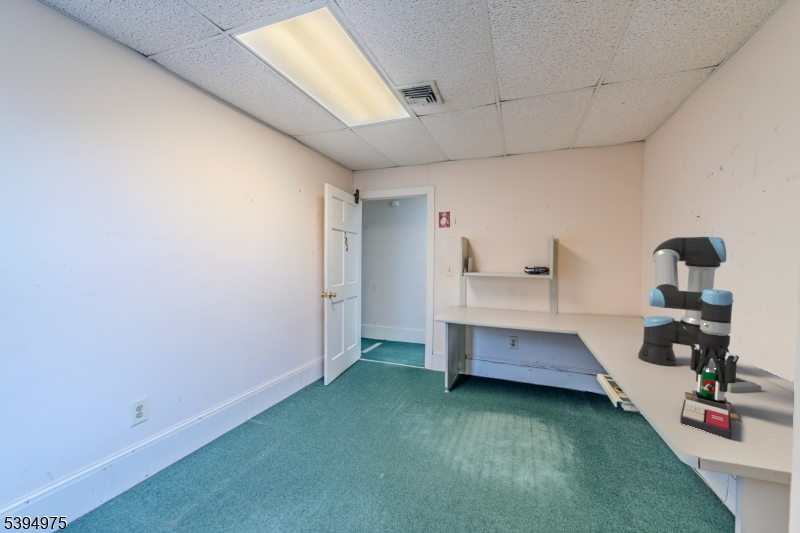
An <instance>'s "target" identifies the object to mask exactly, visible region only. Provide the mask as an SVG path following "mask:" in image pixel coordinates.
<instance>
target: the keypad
mask: <svg viewBox="0 0 800 533" xmlns="http://www.w3.org/2000/svg"><path fill="white" fill-rule="evenodd" d="M752 391H755V392H761V391H762V385H760V384H757V383H756V382H754V381H751V380H747V379H745V378H741V377H739V376H736V382H735V383H728V387H727V392H726V393H729V394H731V393H748V392H749V393H751V392H752Z"/></svg>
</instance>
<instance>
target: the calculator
mask: <svg viewBox="0 0 800 533" xmlns="http://www.w3.org/2000/svg"><path fill="white" fill-rule="evenodd" d="M679 418H680V420H679V421H680V422H679V424H680V423H682V424H681V425H683V424H685V425H684V426H686V425H689V426H692V427H695V428H698V429H701V430H704V431H706V432H705V433H707V432H709V434H711V433H712V434H711V435H714V434H715V436H717V435H718V436H717V437H720V436H721V438H723V439H726V440H731V439H732V422H731V421H732V420H731V417H730V412H729V411H727V410H724V409H720V408H717V407H713V406H709V405H706V404H702V403H698V402H695V401H691V400H687V399H686V398H685V399H684V400H683V404H682V408H681V413H680V417H679ZM689 426H688V427H689ZM692 427H691V428H692ZM695 428H694V429H695ZM698 429H697V430H698ZM701 430H700V431H701ZM704 431H703V432H704Z"/></svg>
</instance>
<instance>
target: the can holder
mask: <svg viewBox="0 0 800 533" xmlns="http://www.w3.org/2000/svg"><path fill="white" fill-rule="evenodd" d="M684 396H685V400H686V399H687V400H691V401H695V402H698V403H702V404H706V405H709V406H713V407H717V408H720V409H724V410H727V411H729V412H730V417H731V421H733V422H737V423H740V417H739V416H738V414H737V412H736V410H735V408H734V407H733V404H732V403H731V402H730V401H728V400H727V397H726V396H724V400H720V402H719V403H717V402H712V401H708V400H704V399H702V398H701V397H700V393H699V392H697V390H694V389H692V390H691V392H687V391H685V392H684Z"/></svg>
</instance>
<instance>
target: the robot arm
mask: <svg viewBox="0 0 800 533" xmlns="http://www.w3.org/2000/svg"><path fill="white" fill-rule="evenodd" d="M652 261H653V262H654V263H655V265H654V268H655V271H654V288H651V289H649V292H648V305H649V306H650V307H654V308H655V307H656V308H659V309H660V308H662V309H673V310H684V311H685V314H684V315H683V316H681V317H680V320H676V319H675V317H673V316H667V315H666V316H665V315H663V316H661V315H657V316H656V315H651V316H648V317H646V318H644V321H643V322H644V323H643V327H644V329H643V340H642V341H643V342H642V345H641V347H640V349H639V351H638V354H637V357H638V359H639V360H641V361H643V362H647V363H649V364H655V365H659V366H666V367H667V366H669V367H672V366H676V365H677V361H678V360H677V357H676V355H675V351H674V349H673V348H674V347H673V346H674V344H676V345H681V346H688V347H690V348H691V349H690V350H691V358H690V370H691V371H693V372H695V374H696V377H695V380H696V382H697V389H696V391H697V392H699V393H700V390H701V375H702V368H704V366H709V364H710V361H711V359H712V361H713V363H714V365H715V368H716V370H717V375H718V379H719V381H716V388H715V400H724V397H726V396H725V395H726V393H728V392H727V387H728V383H735V382H736V377H737V363H738V361H739V358H740V356H738V355H735V354H733V353H731V352H730V350H729V346H730V344H731V342H730V341H731V336H730V335H731V332H732V331H731V329H732V311H733V303H734V298H733V295H734V294H733V292H732V291H730V290H724V289H714V283H715V273H716V270H717V269H719V268H721V263H722V264H723V263H726V262H727V248H726V243H725V240H724V239H723V238H722V237H719V236H718V237H717V236H690V237H688V236H687V237H686V236H685V237H683V236H682V237H681V236H680V237H673V238H669V239H667V240H664V241H663V242H661V243H659V245H657V247H656V248H655V249H654V250H653V252H652ZM679 262H683V263H684V265H685V267H687V268H688V276H687V277H688V279H687V290H680V288H679V287H680V286H679V274H678V273H679V271H678V263H679Z"/></svg>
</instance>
